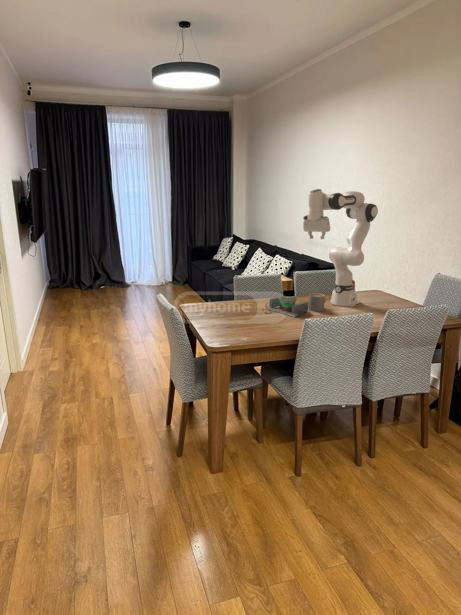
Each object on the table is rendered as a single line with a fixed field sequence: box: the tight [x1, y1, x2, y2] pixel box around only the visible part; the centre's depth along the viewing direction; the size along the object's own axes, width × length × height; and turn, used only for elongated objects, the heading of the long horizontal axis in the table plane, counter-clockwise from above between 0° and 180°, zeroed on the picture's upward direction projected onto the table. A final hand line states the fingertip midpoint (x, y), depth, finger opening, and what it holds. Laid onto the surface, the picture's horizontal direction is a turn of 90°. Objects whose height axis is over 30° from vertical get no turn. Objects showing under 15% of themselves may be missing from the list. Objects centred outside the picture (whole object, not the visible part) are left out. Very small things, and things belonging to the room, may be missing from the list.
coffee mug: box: [308, 292, 326, 313], centre depth 293 cm, size 13×10×10 cm
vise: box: [266, 300, 311, 318], centre depth 288 cm, size 16×23×7 cm
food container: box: [278, 295, 298, 312], centre depth 286 cm, size 12×6×10 cm, turn 97°
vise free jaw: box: [269, 295, 287, 308], centre depth 294 cm, size 14×3×6 cm, turn 134°
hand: (316, 238), depth 276 cm, fingers open, 8 cm apart
